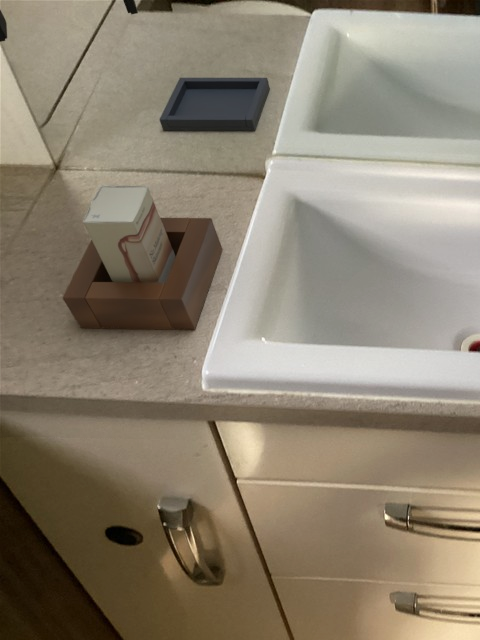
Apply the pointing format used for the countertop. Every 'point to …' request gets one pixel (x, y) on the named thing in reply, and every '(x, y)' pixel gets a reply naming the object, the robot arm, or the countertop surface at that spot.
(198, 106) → the tray
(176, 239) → the frame
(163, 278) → the printed product carton
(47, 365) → the countertop surface
